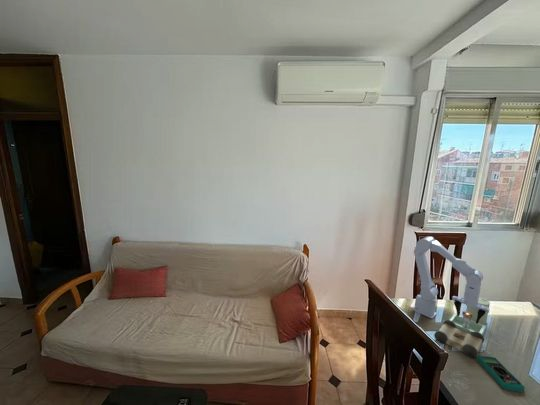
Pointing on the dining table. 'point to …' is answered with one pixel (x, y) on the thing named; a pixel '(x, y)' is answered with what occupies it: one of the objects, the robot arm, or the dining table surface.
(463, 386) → the dining table surface
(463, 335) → the trolley
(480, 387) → the dining table surface
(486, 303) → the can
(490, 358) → the digital multimeter
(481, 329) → the tray
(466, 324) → the stop pin
